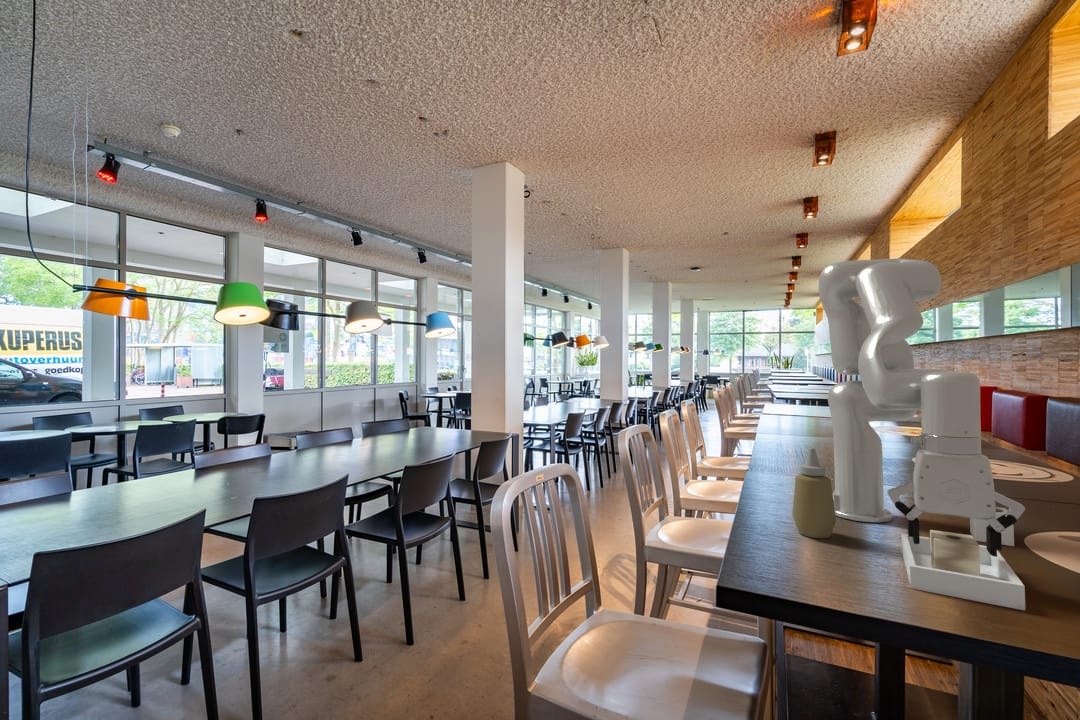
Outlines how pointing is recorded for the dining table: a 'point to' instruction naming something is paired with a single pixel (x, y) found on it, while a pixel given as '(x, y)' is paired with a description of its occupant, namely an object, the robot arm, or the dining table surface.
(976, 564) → the ash block
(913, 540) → the robot arm
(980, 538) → the grey block
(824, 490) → the squeeze bottle
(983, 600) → the tray
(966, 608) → the dining table surface
